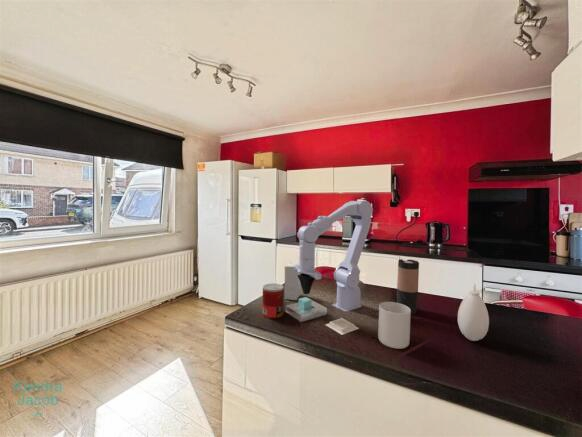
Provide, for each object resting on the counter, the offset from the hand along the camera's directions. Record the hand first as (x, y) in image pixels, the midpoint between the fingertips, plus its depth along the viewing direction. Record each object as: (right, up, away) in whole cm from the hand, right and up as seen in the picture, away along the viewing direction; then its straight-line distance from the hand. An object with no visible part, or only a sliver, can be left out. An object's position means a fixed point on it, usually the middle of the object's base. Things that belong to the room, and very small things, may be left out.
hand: (306, 293), depth 96 cm
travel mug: (+41, -9, +6) cm, 42 cm away
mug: (+26, -10, -17) cm, 32 cm away
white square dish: (+11, -9, -10) cm, 18 cm away
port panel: (0, -8, 0) cm, 8 cm away
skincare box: (-5, -7, +19) cm, 21 cm away
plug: (-1, -8, 0) cm, 8 cm away
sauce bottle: (+51, -10, -16) cm, 55 cm away
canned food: (-13, -8, -1) cm, 15 cm away
